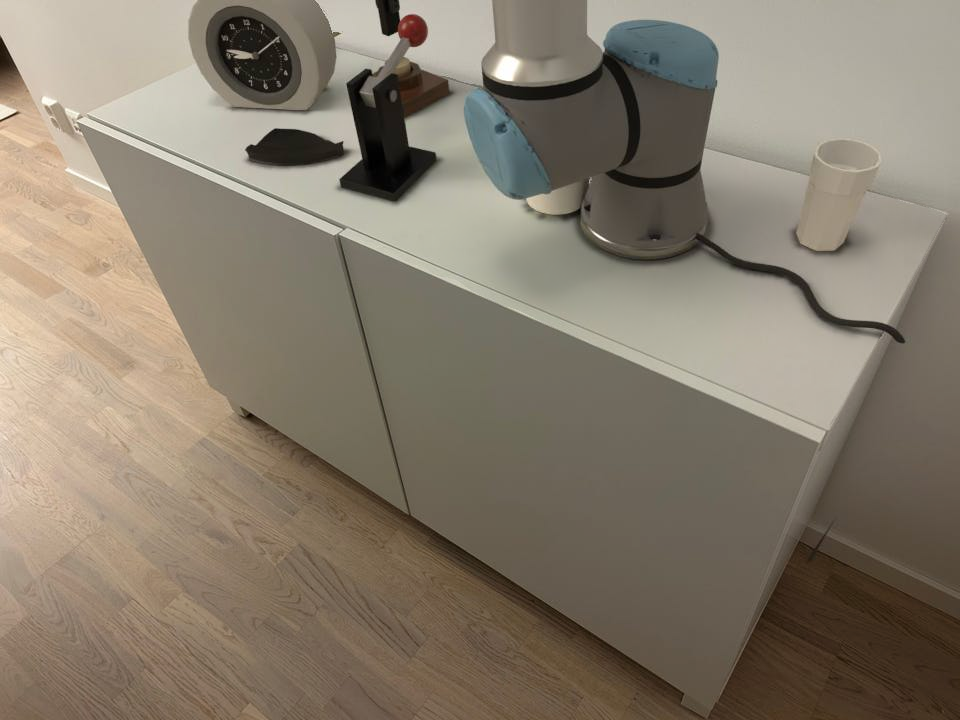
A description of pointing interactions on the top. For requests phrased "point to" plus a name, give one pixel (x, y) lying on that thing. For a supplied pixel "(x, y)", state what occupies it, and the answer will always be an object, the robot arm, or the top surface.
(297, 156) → the curved wedge
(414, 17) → the lever
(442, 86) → the button block
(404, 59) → the button
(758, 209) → the top surface
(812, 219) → the cup
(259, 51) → the alarm clock
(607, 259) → the top surface
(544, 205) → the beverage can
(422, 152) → the bracket
